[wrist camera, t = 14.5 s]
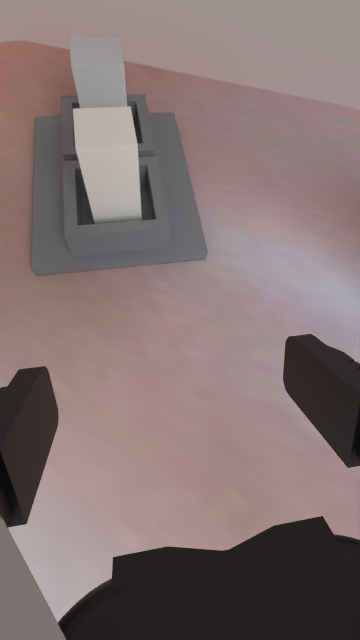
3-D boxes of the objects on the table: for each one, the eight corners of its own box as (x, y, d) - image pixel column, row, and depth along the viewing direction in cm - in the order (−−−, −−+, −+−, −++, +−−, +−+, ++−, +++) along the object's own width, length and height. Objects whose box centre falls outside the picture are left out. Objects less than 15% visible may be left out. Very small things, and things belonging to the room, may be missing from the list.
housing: (173, 123, 44) (179, 17, 33) (205, 259, 35) (227, 172, 24) (39, 128, 41) (-1, 16, 31) (36, 275, 32) (-21, 187, 22)
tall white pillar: (136, 196, 36) (130, 106, 27) (142, 229, 34) (137, 144, 25) (94, 199, 35) (72, 108, 26) (97, 233, 33) (75, 148, 24)
